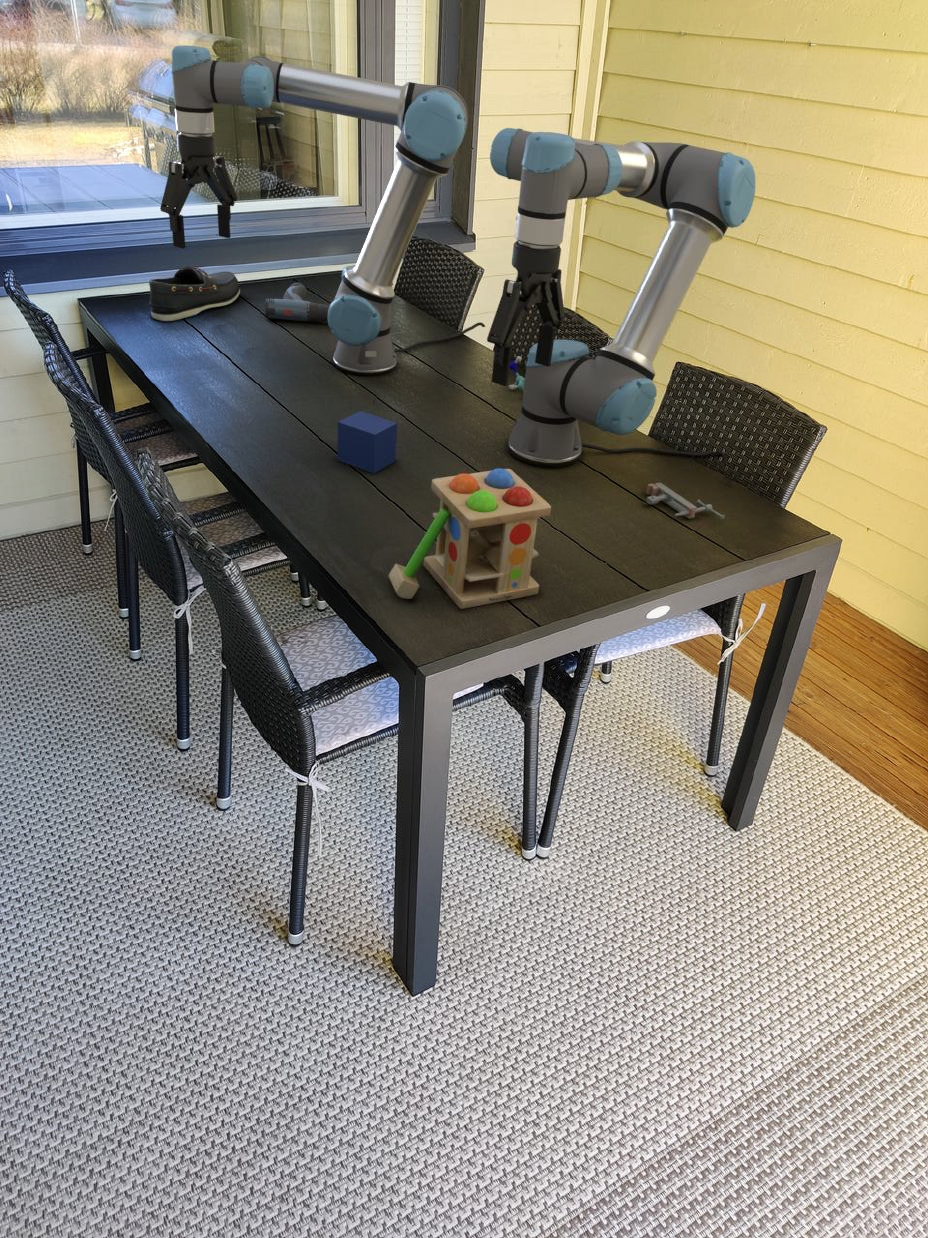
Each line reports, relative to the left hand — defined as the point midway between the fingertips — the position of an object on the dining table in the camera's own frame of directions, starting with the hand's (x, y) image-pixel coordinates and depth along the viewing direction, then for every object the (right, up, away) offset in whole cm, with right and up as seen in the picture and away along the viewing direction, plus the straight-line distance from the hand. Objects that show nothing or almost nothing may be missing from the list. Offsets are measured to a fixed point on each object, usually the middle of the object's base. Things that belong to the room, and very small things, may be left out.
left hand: (202, 241), depth 212 cm
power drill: (+13, +2, +55) cm, 57 cm away
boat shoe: (-16, +3, +53) cm, 55 cm away
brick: (+37, -50, -17) cm, 65 cm away
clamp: (+98, -61, -24) cm, 117 cm away
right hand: (+66, -40, -46) cm, 90 cm away
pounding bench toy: (+55, -76, -53) cm, 108 cm away
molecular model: (+70, -28, +20) cm, 78 cm away
